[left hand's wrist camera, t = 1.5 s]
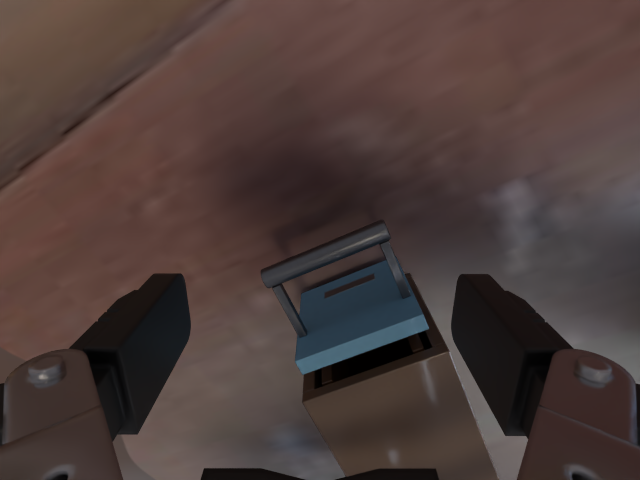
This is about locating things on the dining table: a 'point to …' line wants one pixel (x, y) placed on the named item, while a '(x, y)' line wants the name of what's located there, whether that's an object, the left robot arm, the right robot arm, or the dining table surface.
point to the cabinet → (402, 414)
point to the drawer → (350, 308)
